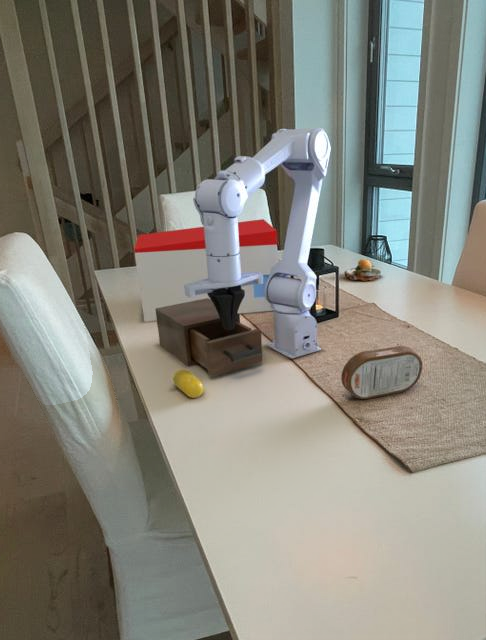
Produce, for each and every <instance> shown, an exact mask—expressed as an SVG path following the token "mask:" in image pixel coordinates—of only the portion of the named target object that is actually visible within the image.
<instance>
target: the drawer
mask: <svg viewBox="0 0 486 640" xmlns="http://www.w3.org/2000/svg"><path fill="white" fill-rule="evenodd" d="M188 338H189V347H190V356H191V358H192V359H194V360H195V361H197V362H198V364H200V366H202V367H204V368H205V369H206V370H207V371H208V376H209V377H211V378H213V377H216V376H220V375H222V374H227V373H230V372H233V371H237V370H240V369H244V368H247V367H250V366H253V365H257V364H261V363H263V362H264V361H263V360H264V359H263V343H262V330H261V329H259V328H255V329H252V328H251V327H250V326H247V325H245V324H243V323H242V322H240V323H239V322H238V321H235V327H234V329H232V330H226V329H224V328H223V327H222V323H221V321H220V322H216V323H212V324H207V325H203V326H199V327H194V328H190V329H188Z"/></svg>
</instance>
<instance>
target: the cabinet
mask: <svg viewBox="0 0 486 640" xmlns="http://www.w3.org/2000/svg"><path fill="white" fill-rule="evenodd" d="M155 310H156V318H157V321H156V324H157V325H156V326H157V331H158V332H157V333H158V340H159V346H161V347H162V348H163V349H165V350H166V351H167V352H169V354H171V355H172V356H174V357H175V358H176V359H178V360H179V361H180V362H181V363H183V364H184V365H186V366H187V367H191V366H194V365H197V364H199V363H198V362H197V361H195V360H194V359H192V358H191V356H190V347H189V338H188V329H190V328H194V327H199V326H203V325H207V324H212V323H216V322H220V321H221V320H220V317H219V314H218V312H217V310H216V308H215V306H214V304H213V302H212V301H211V299H209V298H206V299H201V300H196V301H191V302H186V303H181V304H176V305H171V306H165V307H160V308H156V309H155ZM240 315H241V313H240V314H239V313H237V316H236V321H238V322H239V323H241V317H240Z"/></svg>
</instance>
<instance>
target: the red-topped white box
mask: <svg viewBox="0 0 486 640" xmlns="http://www.w3.org/2000/svg"><path fill="white" fill-rule="evenodd" d="M238 232H239V249H240V265H241V273H250V272H260V273H263V284H253V285H248V286H242V287H241V289H243V290H245V296H244V298H243V300H242V302H241V304H240V307H239V309H238V313H239V314H240V315H241V314H250V313H260V312H261V313H262V312H272V311H273V312H274V309H272V308H271V304H270V303H268V302H267V300H266V298H265V293H264V289H265V284H266V282H267V280H268V278H269V276H270V272H271V268H272V267H273V266H275V265H276V264H277V263H278V230H277V229H276V228H274V227H273V226H272V225H271V224H270V223H268V222H267V220H265V219H264V218H261V219H253V220H246V221H238ZM133 251H134V259H135V267H136V272H137V273H136V274H137V280H138V287H139V293H140V301H141V307H142V314H143V321H144V322H145V323H146V322H157V318H156V310H155V309H156V308H160V307H165V306H171V305H176V304H181V303H186V302H191V301H196V300H201V299H206V298H209V299H210V297H209V296H208V294H207V293H206V294H200V295H195V297H191V298H190V297H188V296H186V295H185V288H184V284H188V283H192V282H196V281H199V280H202V279H206V278H208V269H207V257H206V246H205V234H204V226H198V227H197V226H196V227H190V228H182V229H174V230H165V231H158V232H151V233H142V234H138V236H137V238H136V242H135V245H134V249H133Z"/></svg>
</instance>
